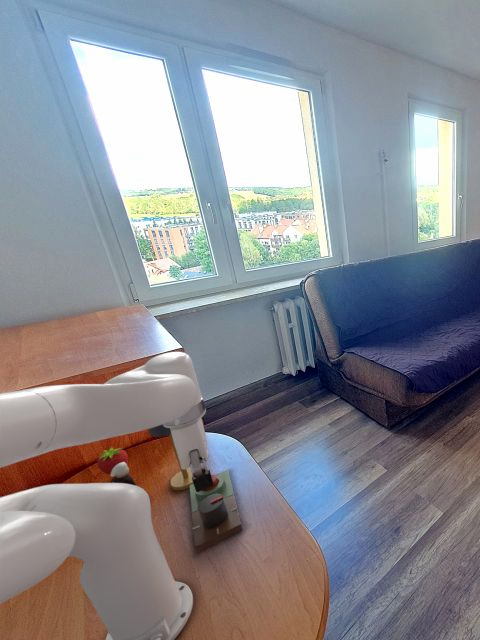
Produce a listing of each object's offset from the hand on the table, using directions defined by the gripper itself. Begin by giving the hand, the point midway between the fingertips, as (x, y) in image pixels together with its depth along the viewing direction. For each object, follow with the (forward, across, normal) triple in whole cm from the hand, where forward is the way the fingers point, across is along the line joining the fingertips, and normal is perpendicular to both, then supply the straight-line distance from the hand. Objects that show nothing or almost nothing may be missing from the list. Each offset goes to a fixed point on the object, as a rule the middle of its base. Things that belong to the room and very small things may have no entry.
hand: (203, 473), depth 75 cm
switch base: (+14, -9, 0) cm, 17 cm away
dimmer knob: (+12, +2, 0) cm, 12 cm away
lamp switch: (+12, -9, 0) cm, 15 cm away
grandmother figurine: (+14, -17, -16) cm, 28 cm away
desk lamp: (+14, -18, -5) cm, 24 cm away
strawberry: (+15, -31, -20) cm, 40 cm away
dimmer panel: (+14, +2, 0) cm, 14 cm away
